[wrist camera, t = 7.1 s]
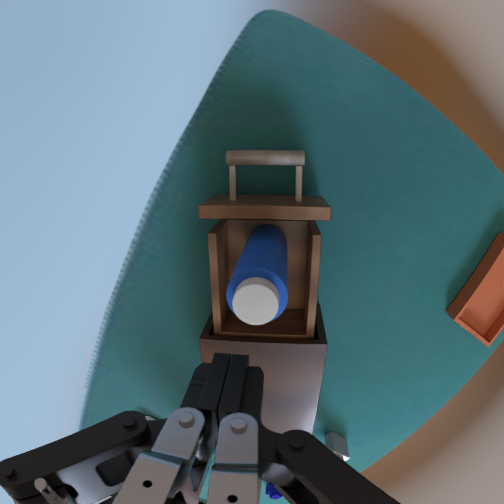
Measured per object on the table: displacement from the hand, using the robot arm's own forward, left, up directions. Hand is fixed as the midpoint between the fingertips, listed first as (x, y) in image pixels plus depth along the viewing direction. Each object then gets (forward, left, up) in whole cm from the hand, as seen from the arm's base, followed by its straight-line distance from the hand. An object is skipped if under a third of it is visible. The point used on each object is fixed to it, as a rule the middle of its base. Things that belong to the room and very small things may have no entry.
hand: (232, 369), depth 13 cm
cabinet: (+16, 0, -23) cm, 28 cm away
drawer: (0, 0, -22) cm, 22 cm away
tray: (+7, +32, -23) cm, 40 cm away
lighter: (+34, +11, -23) cm, 42 cm away
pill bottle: (0, 0, -21) cm, 21 cm away
